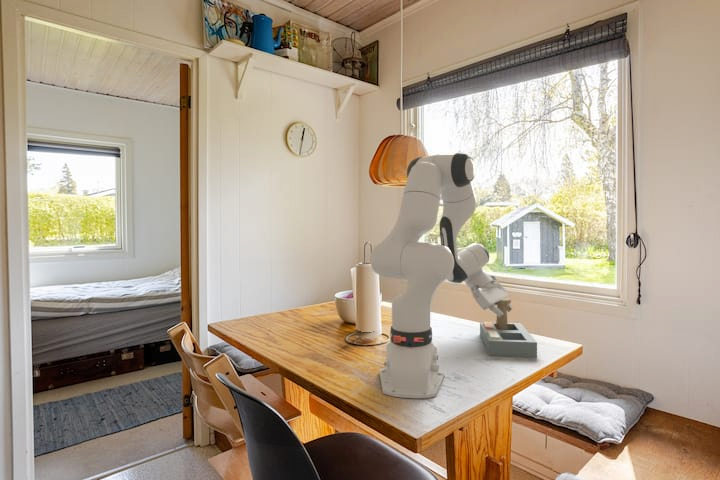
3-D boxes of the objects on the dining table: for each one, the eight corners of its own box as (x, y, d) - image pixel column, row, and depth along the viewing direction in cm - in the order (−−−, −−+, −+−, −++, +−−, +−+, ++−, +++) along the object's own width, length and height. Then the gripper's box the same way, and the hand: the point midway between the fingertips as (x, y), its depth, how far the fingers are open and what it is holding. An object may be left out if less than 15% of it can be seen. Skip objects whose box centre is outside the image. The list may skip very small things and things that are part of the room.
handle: (505, 341, 147) (505, 301, 146) (490, 337, 152) (490, 298, 152) (513, 339, 150) (513, 299, 149) (498, 335, 155) (498, 296, 154)
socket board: (536, 357, 130) (537, 340, 130) (488, 355, 133) (488, 338, 132) (520, 336, 154) (520, 321, 153) (480, 334, 156) (480, 320, 156)
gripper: (475, 282, 144) (502, 313, 139) (496, 275, 160) (521, 303, 154) (463, 293, 147) (489, 324, 142) (485, 285, 163) (510, 313, 157)
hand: (506, 313), depth 148 cm, fingers open, 8 cm apart
